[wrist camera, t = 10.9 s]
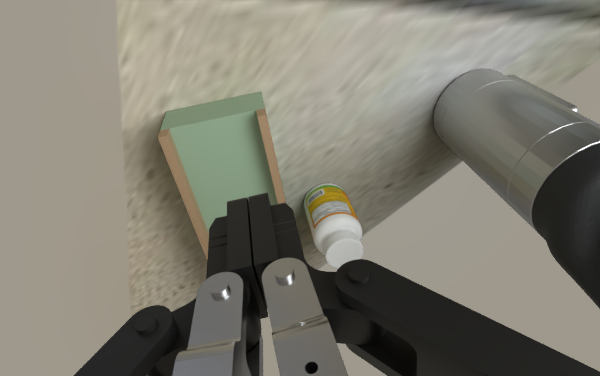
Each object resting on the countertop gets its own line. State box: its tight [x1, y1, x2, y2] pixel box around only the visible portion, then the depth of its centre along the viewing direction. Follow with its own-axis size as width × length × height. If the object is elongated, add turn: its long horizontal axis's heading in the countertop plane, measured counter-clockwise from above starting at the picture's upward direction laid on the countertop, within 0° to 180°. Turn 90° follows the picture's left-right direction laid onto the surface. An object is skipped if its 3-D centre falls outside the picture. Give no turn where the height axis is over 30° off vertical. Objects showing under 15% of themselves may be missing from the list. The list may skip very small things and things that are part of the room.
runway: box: [158, 92, 286, 260], centre depth 43 cm, size 10×22×6 cm, turn 9°
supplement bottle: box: [304, 183, 363, 268], centre depth 44 cm, size 5×5×10 cm
